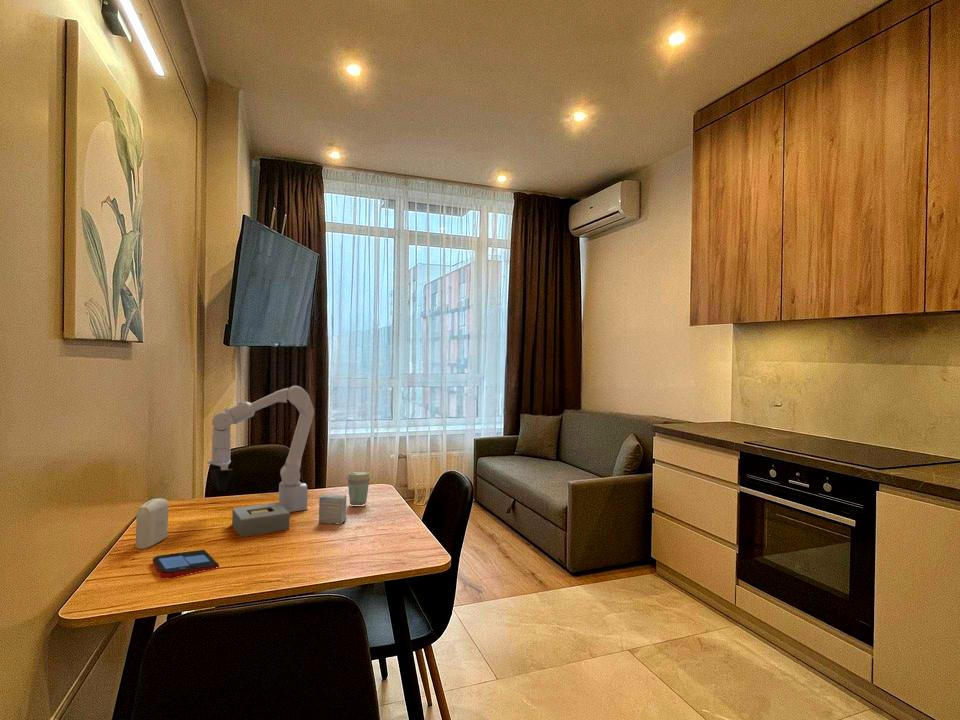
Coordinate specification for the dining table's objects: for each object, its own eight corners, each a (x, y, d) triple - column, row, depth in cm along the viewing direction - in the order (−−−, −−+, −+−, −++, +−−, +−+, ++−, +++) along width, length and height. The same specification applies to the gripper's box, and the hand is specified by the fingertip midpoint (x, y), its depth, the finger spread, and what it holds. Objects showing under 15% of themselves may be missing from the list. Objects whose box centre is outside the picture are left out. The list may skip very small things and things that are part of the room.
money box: (277, 517, 171) (277, 502, 171) (289, 529, 160) (289, 512, 160) (232, 524, 163) (232, 508, 163) (240, 537, 152) (241, 519, 152)
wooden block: (266, 524, 164) (266, 509, 164) (268, 527, 162) (268, 511, 162) (249, 527, 161) (249, 511, 161) (251, 530, 159) (252, 513, 159)
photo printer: (155, 536, 150) (156, 495, 151) (169, 537, 151) (171, 495, 151) (132, 549, 140) (133, 504, 140) (148, 549, 140) (149, 504, 140)
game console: (219, 569, 129) (220, 561, 129) (161, 583, 121) (161, 573, 121) (205, 553, 140) (205, 545, 140) (150, 564, 131) (151, 555, 131)
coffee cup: (347, 502, 193) (348, 470, 193) (370, 501, 194) (371, 470, 194) (344, 508, 184) (345, 475, 185) (368, 508, 185) (369, 475, 185)
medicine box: (346, 520, 170) (347, 495, 170) (341, 525, 166) (342, 498, 166) (323, 519, 171) (324, 493, 171) (318, 523, 166) (319, 497, 166)
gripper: (204, 445, 176) (203, 484, 176) (211, 451, 164) (210, 493, 164) (227, 444, 180) (226, 482, 180) (235, 450, 168) (234, 491, 168)
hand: (220, 487), depth 172 cm, fingers open, 7 cm apart
